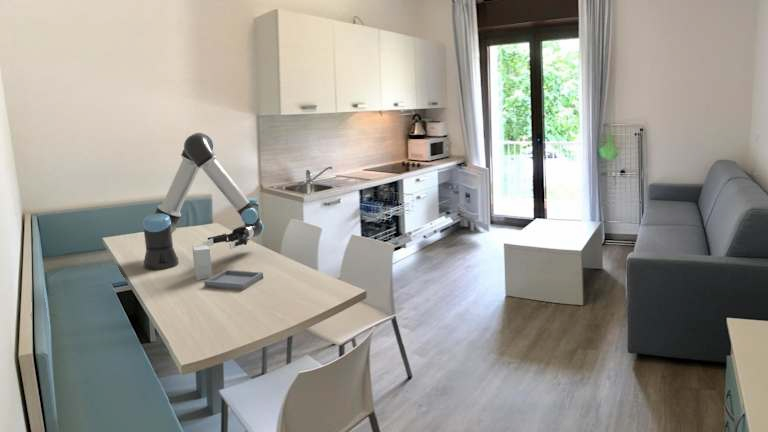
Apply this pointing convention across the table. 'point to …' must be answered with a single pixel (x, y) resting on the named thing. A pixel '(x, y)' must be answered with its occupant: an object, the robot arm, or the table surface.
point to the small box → (202, 262)
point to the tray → (234, 279)
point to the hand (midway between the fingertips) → (217, 245)
